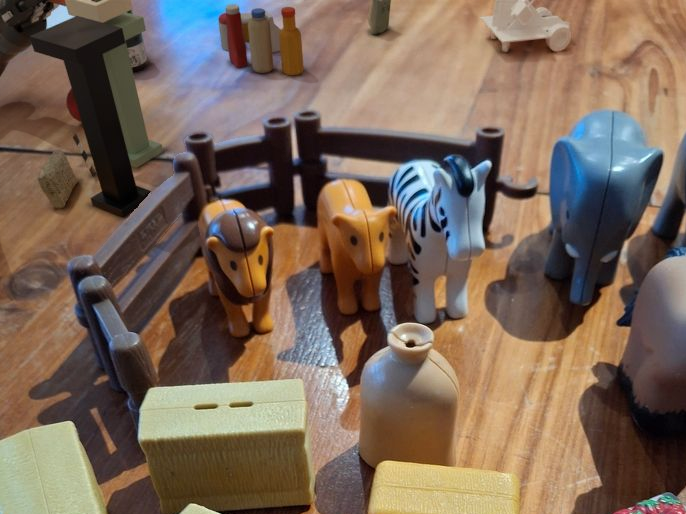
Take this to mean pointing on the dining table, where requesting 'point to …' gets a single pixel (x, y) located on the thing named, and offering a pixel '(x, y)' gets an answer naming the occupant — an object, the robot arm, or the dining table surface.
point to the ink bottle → (136, 51)
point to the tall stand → (95, 105)
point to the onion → (72, 106)
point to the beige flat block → (95, 8)
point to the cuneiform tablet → (60, 176)
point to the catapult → (526, 24)
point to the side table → (129, 93)
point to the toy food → (261, 39)
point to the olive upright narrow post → (379, 16)
